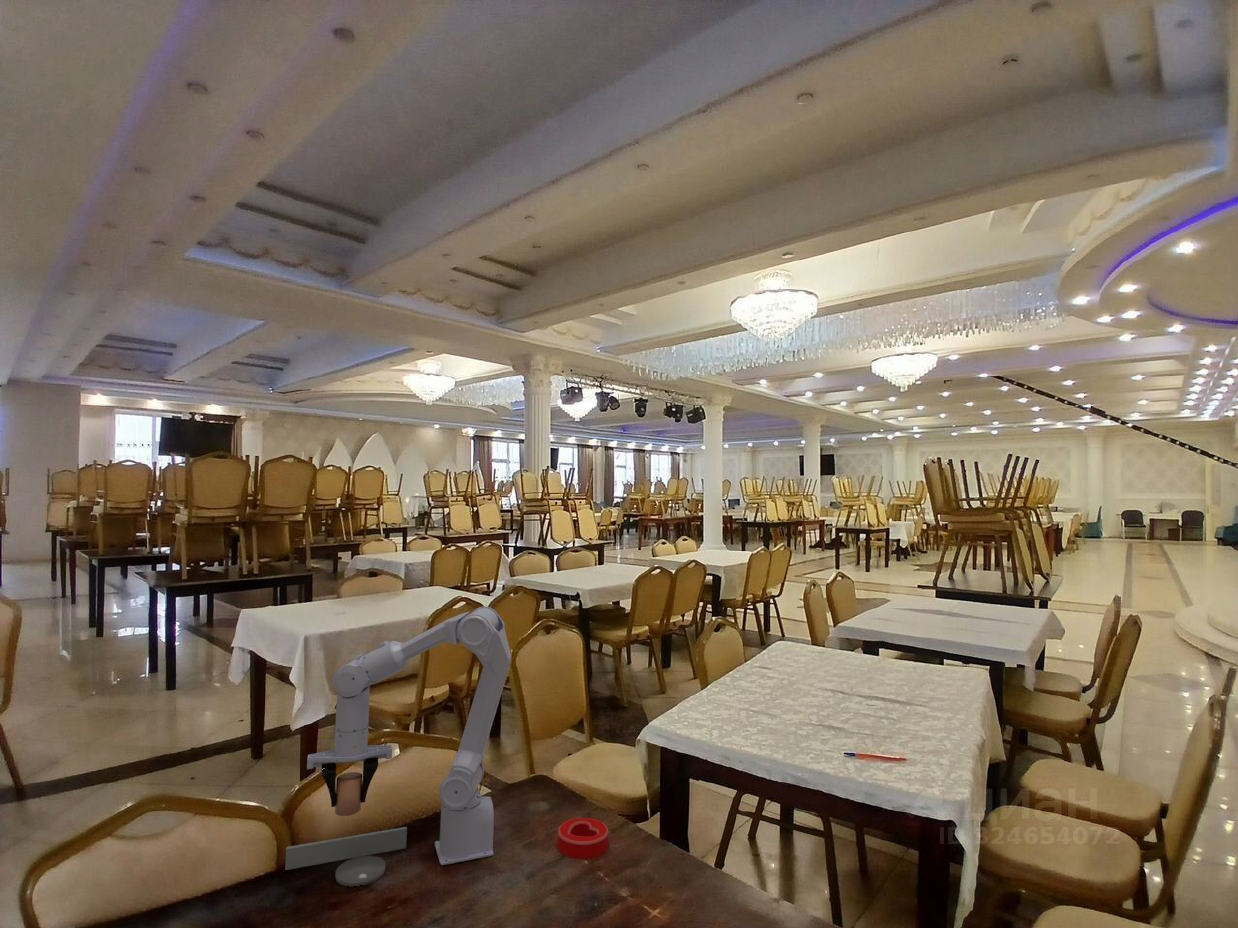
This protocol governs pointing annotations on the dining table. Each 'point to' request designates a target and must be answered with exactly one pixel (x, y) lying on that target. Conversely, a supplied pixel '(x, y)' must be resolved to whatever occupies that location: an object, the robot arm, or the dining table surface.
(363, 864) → the slate coaster
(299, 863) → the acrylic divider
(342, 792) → the terracotta cylinder
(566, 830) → the decorative ornament
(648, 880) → the dining table surface
